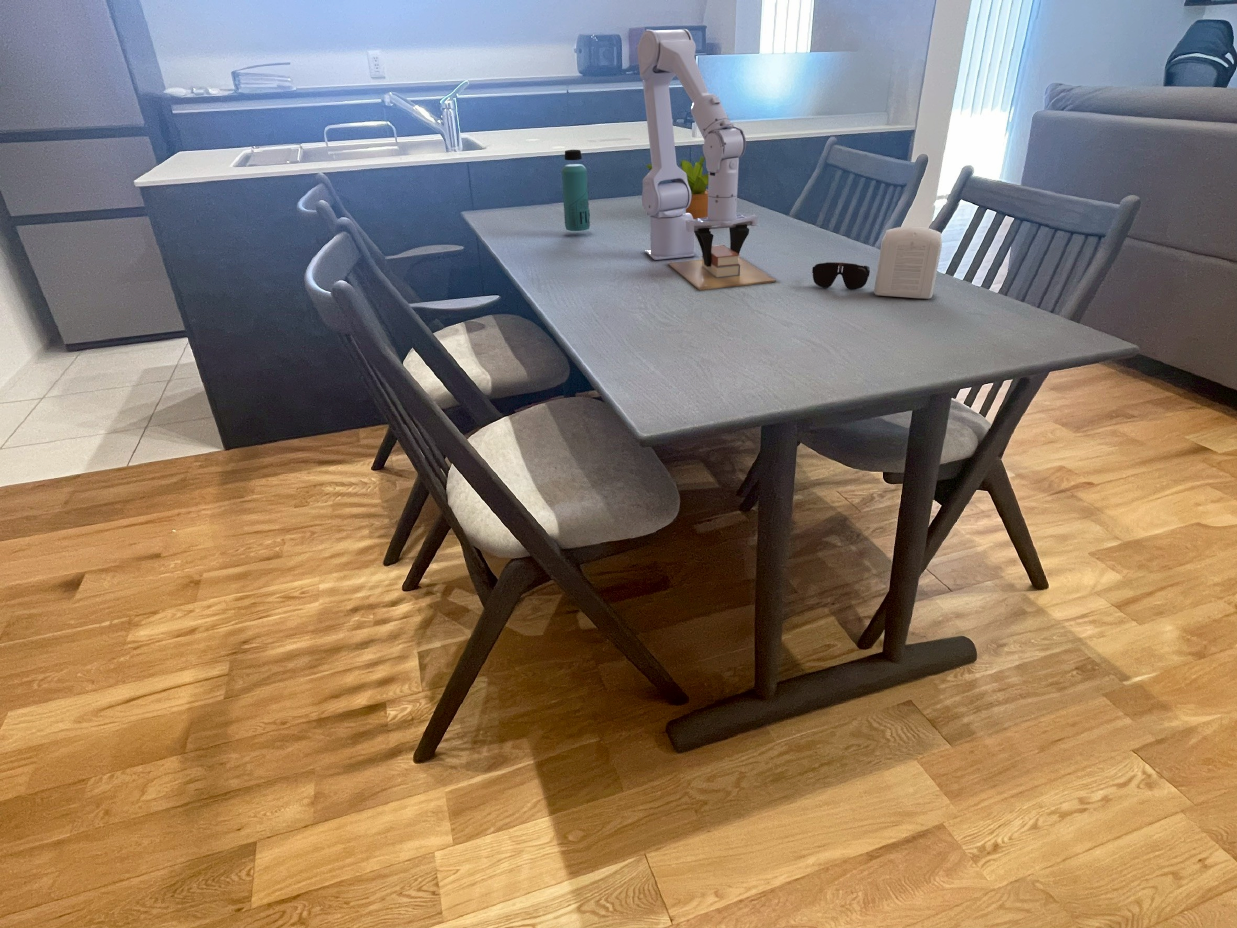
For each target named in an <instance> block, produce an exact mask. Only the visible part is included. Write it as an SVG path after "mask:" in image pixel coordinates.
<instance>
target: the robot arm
mask: <svg viewBox="0 0 1237 928" xmlns="http://www.w3.org/2000/svg"><path fill="white" fill-rule="evenodd" d="M693 38H694V37H693V36H692V33H691V32H690V30H688V29H686V28H680V29H666V30H665V29H664V30H663V29H662V30H653V29H646V30H645V31H643V33H642V35H641V37H640V39H639V42H638V44H637V46H636V51H637V52H636V53H637V60H638V69H639V77H640V79H641V80H642V88H643V97H644V106H645V116H646V124H647V135H648V143H649V152H650V160H651V165H652V169H651V170H649V172H648V173H647V174H646V175H645V176H644V177H643V179H642V180H641V181H642V193H641V203H642V207H643V209H644V211H645V212H646V213H647V216H649V219H650V220H649V221H650V223H649V224H650V249H645V250H644V251H645V253H646V254H647V256H650V258H652V259H653V260H654V261H660V260H667V259H668V260H670V259H671V260H672V259H679V258H691V257H696V254H695V237H696V239H697V241H698V245H699V247H700V250H701V255H702V254H703V259H704V265H706V266H707V267H711V248H712V246H713V242H714V234H713V233H712V231H711V230H716V229H717V230H718V229H728V230H729V231H728V232H729V242H730V243H729V245H730V246H729V248H730V249H731V250H733V251H734V252H736V253H738V254H739V255H740V253H741V250H742V247H743V245H744V243H745V241H746V240H747V238H748V236H749V234H750V228H748V227H750V226H751V227H757V226H758V215H756V214H753V213H752V214H737V211H738V190H739V188H738V186H739V165H740V164H739V162H740V159H741V158H742V157H743V156H744V154H745V152H746V148H747V138H746V136H745V132H744V130H743V129H742V128H741V127H739V126H736V125H735V123H733V122H731V120H730V118H729V116H728V117H727V115H728V114H727V113H726V110H725V109H724V106H723V105H722V102H721V99H720V98H719V96H718V95H717V94H714V93H710V92H709V90H708V88H707V85H706V83H705V79H704V78H703V75H702V73H701V70H700V68H699V65H698V63H697V60H696V58H695V56H696V49H697V48H696V46H697V44H696V42H695V41H694V39H693ZM674 78H677V79H678V81H679V83H680V85H681V86H682V87H683V89H684V91H685V93H686V94H687V96H688V97H689V99H690V101H691V102H692V105H691V107H690V114H691V116H692V118H693V120H694V122H695V124H696V126H697V128H698V131H699V132H700V134H701V137H702V138H703V140H704V142H703V144H702V153H703V157H704V156H705V168H706V171H707V172H708V174H709V181H708V185H707V187H708V188H707V189H708V190H707V191H708V217H704V218H699V219H693V217H692V215H691V214H690V213H686V209H687V208H688V207H689V205H690V202H691V189H690V187H689V185H688V181H687V174H686V173H685V172H684V171H683V170H682V168H681V167H680V166H678V164H677V155H676V145H675V144H676V143H675V136H674V135H675V134H674V124H673V114H672V103H671V93H670V83H671V82H672V80H673V79H674ZM662 181H670V182H662ZM660 182H661V183H660Z"/></svg>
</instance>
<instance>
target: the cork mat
mask: <svg viewBox="0 0 1237 928" xmlns="http://www.w3.org/2000/svg"><path fill="white" fill-rule="evenodd" d="M738 264H740V276H731V277H722V278H716V277H714V276H713V275H712V274H710V273H709V272H708V271H706V270H705V269H704V268H702V259H696V260H695V259H694V260H693V259H692V260H685V261H684V260H683V261H674V262H668V265H669V267H671V268H672V269H673V270H674V271H675V272H677V273H678V274H679V275H680V276H682V277H683V278H684V279H685V280H687V281H688V282H689V283H690V284H691V285H692V286H693V287H695V288H696V289H697V290H698V291H706V290H713V289H714V290H715V289H724V288H733V287H734V288H735V287H742V286H751V285H760V284H762V285H763V284H770V283H776V282H777V280H776V279H775V278H773V277H771V276H770V275H769V274H767V273H766V272H764V271H762V270H760V269H759V268H757V267H756V266H754V265H753V264H751V263H749V262H748V261H747V260H745V259H743V258H742V257H740V256H739V258H738Z"/></svg>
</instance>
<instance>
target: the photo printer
mask: <svg viewBox="0 0 1237 928" xmlns="http://www.w3.org/2000/svg"><path fill="white" fill-rule="evenodd" d="M942 247H943V240H942V233H941V232H940V231H938V230H936V229H932V228H929V227H924V226H914V225H911V226H908V225H907V226H898V227H894V228H890V229H886V230H885V234H884V236H882V239H881V243H880V248H879V249H880V250H879V255H878V262H877V268H876V274H875V281H874V287H873V294H874V295H875V296H879V297H897V298H911V299H923V300H930V299H932V297H933V294H934V290H935V289H934V288H935V283H936V280H937V279H936V278H937V273H938V268H939V263H940V258H941V253H942Z"/></svg>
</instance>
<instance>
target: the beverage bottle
mask: <svg viewBox="0 0 1237 928" xmlns="http://www.w3.org/2000/svg"><path fill="white" fill-rule="evenodd" d="M582 158H583V156H582V150H580V149H567V150H565V151H564V160H565V161H580V160H582ZM587 172H588V170H587V168H586V167H585V166H584V165H583V164H582V163H569V164H565V165H564V166H563V167H562V168H561V171H560V173H561V183H562V196H563V204H562V205H563V214H564V216H563V218H564V227H565V230H566V231H569V232H582V231H583V232H584V231H587V230H589V229H590V226H591V224H590V223H591V220H590V218H591V214H590V213H591V212H590V202H589V184H588V176H587V175H588V173H587Z"/></svg>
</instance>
